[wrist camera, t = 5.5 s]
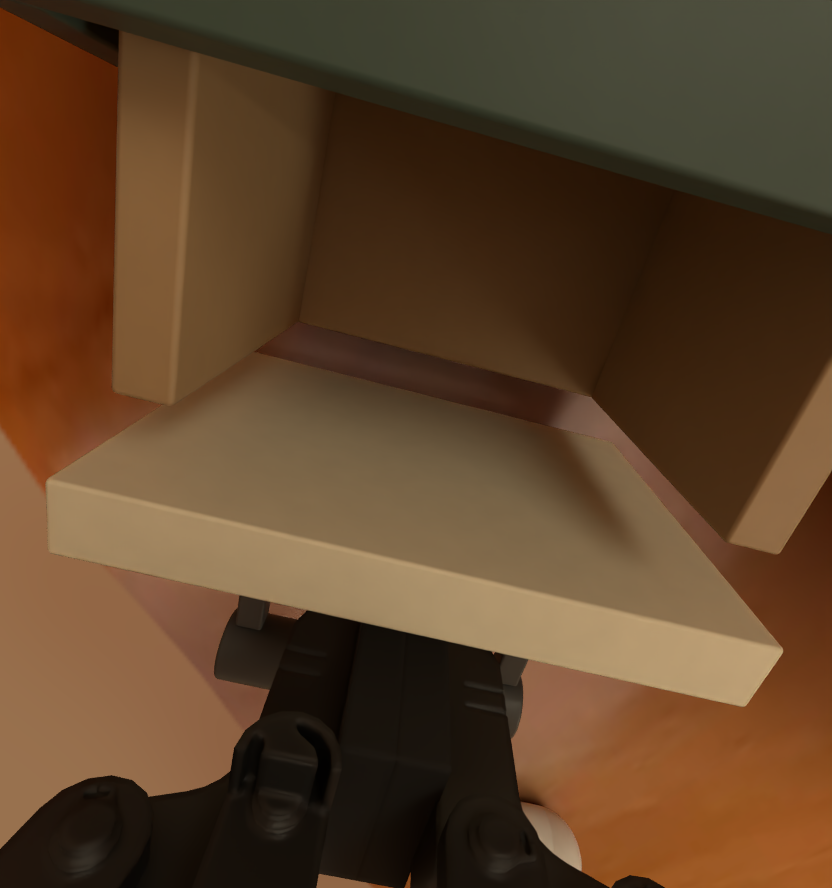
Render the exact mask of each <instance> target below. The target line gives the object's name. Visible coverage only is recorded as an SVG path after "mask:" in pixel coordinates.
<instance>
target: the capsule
mask: <svg viewBox="0 0 832 888" xmlns="http://www.w3.org/2000/svg"><path fill="white" fill-rule="evenodd" d="M521 805H522V809H523V812H524V813H525V815H526V816H527V818H528V819H529V821H530V822H531V824H532V825H533V827H534V828H535V830H536V831H537V834H538V837H539V839H540V840H541V841H542V843H543V844H544V845H545V846H546V847H547V848H548V849H549V850H550V851H551V852H552V853H553V854H555V855H556V856H558V857H559V858H560V859H562V860H563V861H565V862H566V863H568V864H569V865H571V866H573V867H574V868H576V869H578V870H580V871H582V863H581V856H580V851H579V847H578V843H577V841H576V839H575V837H574V835H573V833H572V831H571V829H570V828H569V826H568V825H567V824H566V822H565V821H564V820H563V819H562V818H561V817H560V816H559V815H557V814H556V813H555V812H553V811H551V810H550V809H548V808H546V807H543V806H540V805H535V804H530V803H525V802H521Z"/></svg>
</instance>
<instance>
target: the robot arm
mask: <svg viewBox="0 0 832 888" xmlns="http://www.w3.org/2000/svg"><path fill="white" fill-rule="evenodd" d="M503 691H504V689H503V682H502V675H501V669H500V665H499V663H498V662H497V660H496V658H495V656H494V655H493V653H492V651H488V650H483V649H479V648H474V647H470V646H465V645H461V644H456V643H452V642H447V641H443V640H438V639H434V638H429V637H425V636H420V635H416V634H412V633H407V632H403V631H398V630H394V629H389V628H385V627H380V626H376V625H371V624H367V623H362V622H358V621H353V620H349V619H344V618H340V617H335V616H331V615H326V614H322V613H317V612H313V611H308V610H307V611H306V612H305V613H304V614H303V615H302V616H301V617H300V618H299V619H298V620H297V621H296V622H295V623H294V625H293V627H292V630H291V633H290V636H289V639H288V641H287V644H286V647H285V650H284V652H283V655H282V658H281V661H280V663H279V667H278V669H277V672H276V674H275V677H274V680H273V683H272V685H271V688H270V691H269V694H268V697H267V699H266V702H265V705H264V708H263V710H262V713H261V716H260V719H259V720H258V721H257V722H255V723H254V724H253V725H251V726H250V727H249V728H247V729H246V730H245V732H244V733H243V735H242V736H241V738H240V740H239V741H238V743H237V744H236V746H235V747H234V753H233V759H232V765H231V771H230V772H229V773H227V774H226V775H225V776H224V777H222V778H221V779H219V780H217V781H215V782H213V783H211V784H209V785H208V786H205V787H202V788H198V789H194V790H190V791H186V792H179V793H172V794H165V795H158V796H152V797H148V795H147V793H146V792H145V791H144V790H143V789H142V788H141V787H140V786H138V785H137V784H136V783H135V782H134V781H132V780H129V779H125V778H121V777H117V776H112V775H111V776H105V777H97V778H90V779H87V780H84V781H81V782H79V783H77V784H75V785H73V786H70V787H68V788H66V789H64V790H62V791H61V792H59V793H58V794H57V795H56V796H54V797H53V798H52V799H51V800H49V801H48V802H47V803H46V804H44V805H43V806H42V807H41V808H39V810H38V811H37V812H36V813H35V814H34V815H33V816H32V817H31V818H30V819H29V820H28V821H27V822H26V823H25V824H24V825H23V826H22V827H21V828H20V829H19V830H18V831H17V832H16V833H15V834H14V835H13V836H12V837H11V839H10V840H9V841H8V842H7V843H6V844H5V845H4V846H3V847H2V848H1V849H0V888H316V886H317V880H318V875H319V874H324V875H329V876H335V877H340V878H345V879H351V880H356V881H361V882H366V883H372V884H377V885H382V886H388V887H393V888H404V887H405V885H406V882H407V880H408V877H409V875H410V872H411V883H410V888H609V887H607V886H606V885H604V884H602V883H600V882H599V881H597V880H595V879H594V878H592V877H590V876H588V875H587V874H585V873H583V872H581V871H580V870H578V869H576V868H574V867H573V866H571V865H569V864H568V863H566V862H565V861H563V860H562V859H560V858H559V857H558V856H556V855H555V854H553V853H552V852H551V851H550V850H549V849H548V848H547V847H546V846H545V845H544V844H543V843H542V841H541V840H540V839H539V837H538V834H537V831H536V830H535V828H534V827H533V825H532V824H531V822H530V821H529V819H528V818H527V816H526V815H525V813H524V812H523V809H522V805H521V802H520V798H519V792H518V785H517V779H516V772H515V765H514V758H513V751H512V744H511V737H510V730H509V724H508V717H507V716H506V711H507V710H506V703H505V696H504V695H503ZM612 888H665V887H663V886H661V885H660V884H658V883H656V882H654V881H652V880H651V879H649V878H644V877H638V876H631V875H629V876H627V877H625V878H623V879H620V880H618V881H616V882H615V883H614V885H613V886H612Z"/></svg>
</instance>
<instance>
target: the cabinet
mask: <svg viewBox="0 0 832 888" xmlns="http://www.w3.org/2000/svg"><path fill="white" fill-rule="evenodd" d="M0 7H1V8H3V9H5V10H6V11H8V12H10V13H12V14H14V15H16V16H18V17H20V18H22V19H24V20H26V21H28V22H30V23H32V24H34V25H36V26H38V27H40V28H42V29H44V30H46V31H48V32H50V33H52V34H54V35H56V36H58V37H60V38H61V39H63V40H65V41H67V42H69V43H71V44H73V45H75V46H77V47H79V48H81V49H83V50H85V51H87V52H89V53H91V54H93V55H95V56H97V57H99V58H101V59H103V60H105V61H107V62H109V63H111V64H113V65H114V66H116V67H118V53H119V30H120V31H124V32H127V33H131V34H134V35H138V36H141V37H145V38H148V39H152V40H155V41H159V42H162V43H165V44H169V45H172V46H176V47H179V48H183V49H186V50H190V51H193V52H197V53H200V54H204V55H207V56H211V57H214V58H218V59H221V60H225V61H228V62H232V63H235V64H239V65H242V66H246V67H249V68H253V69H256V70H260V71H263V72H267V73H270V74H274V75H277V76H281V77H284V78H288V79H291V80H294V81H298V82H301V83H305V84H308V85H312V86H315V87H319V88H322V89H326V90H329V91H333V92H336V93H340V94H343V95H347V96H350V97H354V98H357V99H361V100H364V101H368V102H371V103H375V104H378V105H382V106H385V107H389V108H392V109H396V110H399V111H403V112H406V113H410V114H413V115H417V116H420V117H424V118H427V119H430V120H434V121H437V122H441V123H444V124H448V125H451V126H455V127H458V128H462V129H465V130H469V131H472V132H476V133H479V134H483V135H486V136H490V137H493V138H497V139H500V140H504V141H507V142H511V143H514V144H518V145H521V146H525V147H528V148H532V149H535V150H539V151H542V152H546V153H549V154H553V155H556V156H559V157H563V158H566V159H570V160H573V161H577V162H580V163H584V164H587V165H591V166H594V167H598V168H601V169H605V170H608V171H612V172H615V173H619V174H622V175H626V176H629V177H633V178H636V179H640V180H643V181H647V182H650V183H654V184H657V185H661V186H664V187H668V188H671V189H675V190H678V191H682V192H685V193H689V194H692V195H695V196H699V197H702V198H706V199H709V200H713V201H716V202H720V203H723V204H727V205H730V206H734V207H737V208H741V209H744V210H748V211H751V212H755V213H758V214H762V215H765V216H769V217H772V218H776V219H779V220H783V221H786V222H790V223H793V224H797V225H800V226H804V227H807V228H811V229H814V230H818V231H821V232H824V233H828V234H831V235H832V0H0Z"/></svg>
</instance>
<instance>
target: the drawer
mask: <svg viewBox="0 0 832 888" xmlns="http://www.w3.org/2000/svg"><path fill="white" fill-rule="evenodd" d="M297 322H302V323H306V324H309V325H313V326H317V327H321V328H325V329H329V330H333V331H337V332H341V333H344V334H348V335H352V336H356V337H360V338H364V339H368V340H372V341H375V342H379V343H383V344H387V345H391V346H395V347H399V348H403V349H407V350H410V351H414V352H418V353H422V354H426V355H430V356H434V357H438V358H442V359H445V360H449V361H453V362H457V363H461V364H465V365H469V366H473V367H476V368H480V369H484V370H488V371H492V372H496V373H500V374H504V375H508V376H511V377H515V378H519V379H523V380H527V381H531V382H535V383H539V384H543V385H546V386H550V387H554V388H558V389H562V390H566V391H570V392H574V393H577V394H581V395H585V396H589V397H592V398H593V399H594V401H595V402H596V403H597V404H598V405H599V406H600V407H601V408H602V409H603V410H604V411H605V412H606V413H607V415H608V416H609V417H610V418H611V419H612V420H613V421H614V422H615V423H616V424H617V425H618V426H619V428H620V429H621V430H622V431H623V432H624V433H625V434H626V435H627V436H628V437H629V438H630V439H631V440H632V442H633V443H634V444H635V445H636V446H637V447H638V448H639V449H640V450H641V451H642V452H643V453H644V455H645V456H646V457H647V458H648V459H649V460H650V461H651V462H652V463H653V464H654V465H655V466H656V467H657V469H658V470H659V471H660V472H661V473H662V474H663V475H664V476H665V477H666V478H667V479H668V480H669V482H670V483H671V484H672V485H673V486H674V487H675V488H676V489H677V490H678V491H679V492H680V493H681V494H682V496H683V497H684V498H685V499H686V500H687V501H688V502H689V503H690V504H691V505H692V506H693V507H694V509H695V510H696V511H697V512H698V513H699V514H700V515H701V516H702V517H703V518H704V519H705V520H706V522H707V523H708V524H709V525H710V526H711V527H712V528H713V529H714V530H715V531H716V532H717V533H718V534H719V536H720V537H721V538H722V539H723V540H724V541H725V542H727V543H730V544H735V545H739V546H743V547H747V548H751V549H755V550H759V551H763V552H767V553H772V554H779V553H780V552H781V550H782V549H783V547H784V546H785V544H786V543H787V541H788V539H789V538H790V536H791V535H792V533H793V531H794V530H795V528H796V527H797V525H798V524H799V522H800V520H801V519H802V517H803V516H804V514H805V512H806V511H807V509H808V508H809V506H810V505H811V503H812V501H813V500H814V498H815V497H816V495H817V493H818V492H819V490H820V489H821V487H822V486H823V484H824V482H825V481H826V479H827V478H828V476H829V474H830V473H831V471H832V235H831V234H828V233H824V232H821V231H818V230H814V229H811V228H807V227H804V226H800V225H797V224H793V223H790V222H786V221H783V220H779V219H776V218H772V217H769V216H765V215H762V214H758V213H755V212H751V211H748V210H744V209H741V208H737V207H734V206H730V205H727V204H723V203H720V202H716V201H713V200H709V199H706V198H702V197H699V196H695V195H692V194H689V193H685V192H682V191H678V190H675V189H671V188H668V187H664V186H661V185H657V184H654V183H650V182H647V181H643V180H640V179H636V178H633V177H629V176H626V175H622V174H619V173H615V172H612V171H608V170H605V169H601V168H598V167H594V166H591V165H587V164H584V163H580V162H577V161H573V160H570V159H566V158H563V157H559V156H556V155H553V154H549V153H546V152H542V151H539V150H535V149H532V148H528V147H525V146H521V145H518V144H514V143H511V142H507V141H504V140H500V139H497V138H493V137H490V136H486V135H483V134H479V133H476V132H472V131H469V130H465V129H462V128H458V127H455V126H451V125H448V124H444V123H441V122H437V121H434V120H430V119H427V118H424V117H420V116H417V115H413V114H410V113H406V112H403V111H399V110H396V109H392V108H389V107H385V106H382V105H378V104H375V103H371V102H368V101H364V100H361V99H357V98H354V97H350V96H347V95H343V94H340V93H336V92H333V91H329V90H326V89H322V88H319V87H315V86H312V85H308V84H305V83H301V82H298V81H294V80H291V79H288V78H284V77H281V76H277V75H274V74H270V73H267V72H263V71H260V70H256V69H253V68H249V67H246V66H242V65H239V64H235V63H232V62H228V61H225V60H221V59H218V58H214V57H211V56H207V55H204V54H200V53H197V52H193V51H190V50H186V49H183V48H179V47H176V46H172V45H169V44H165V43H162V42H159V41H155V40H152V39H148V38H145V37H141V36H138V35H134V34H131V33H127V32H124V31H120V30H119V53H118V102H117V151H116V199H115V248H114V297H113V346H112V390H113V392H115V393H117V394H121V395H125V396H129V397H133V398H138V399H142V400H146V401H150V402H154V403H158V404H162V405H161V406H160V407H158V408H157V409H155V410H154V411H152V412H151V413H149V414H147V415H146V416H144V417H143V418H141V419H140V420H138V421H137V422H135V423H133V424H132V425H130V426H129V427H127V428H126V429H124V430H123V431H121V432H119V433H118V434H116V435H115V436H113V437H112V438H110V439H109V440H107V441H105V442H104V443H102V444H101V445H99V446H98V447H96V448H95V449H93V450H91V451H90V452H88V453H87V454H85V455H84V456H82V457H81V458H79V459H77V460H76V461H74V462H73V463H71V464H70V465H68V466H67V467H65V468H63V469H62V470H60V471H59V472H57V473H56V474H54V475H53V476H51V477H49V478H48V479H47V481H46V508H47V537H48V551H49V552H50V553H52V554H56V555H61V556H65V557H70V558H74V559H79V560H83V561H88V562H92V563H97V564H101V565H106V566H110V567H115V568H119V569H124V570H128V571H133V572H137V573H142V574H146V575H151V576H155V577H160V578H164V579H169V580H173V581H178V582H182V583H187V584H191V585H196V586H200V587H205V588H209V589H214V590H218V591H223V592H227V593H232V594H236V595H240V596H239V603H238V608H237V609H236V610H235V611H234V612H233V614H232V615H231V617H230V619H229V621H228V623H227V625H226V628H225V630H224V633H223V635H222V638H221V641H220V644H219V648H218V651H217V655H216V660H215V666H214V675H215V677H216V678H217V679H221V680H225V681H230V682H235V683H240V684H244V685H249V686H254V687H259V688H263V689H268V690H270V688H271V685H272V683H273V680H274V677H275V674H276V672H277V669H278V667H279V663H280V661H281V658H282V655H283V652H284V650H285V647H286V644H287V641H288V639H289V636H290V633H291V630H292V627H293V625H294V623H295V622H296V621H297V619H292V618H288V617H283V616H279V615H274V614H270V613H268V612H269V606H270V602H272V603H277V604H281V605H286V606H290V607H295V608H299V609H304V610H308V611H313V612H317V613H322V614H326V615H331V616H335V617H340V618H344V619H349V620H353V621H358V622H362V623H367V624H371V625H376V626H380V627H385V628H389V629H394V630H398V631H403V632H407V633H412V634H416V635H420V636H425V637H429V638H434V639H438V640H443V641H447V642H452V643H456V644H461V645H465V646H470V647H474V648H479V649H483V650H488V651H492V652H495V653H494V656H495V658H496V660H497V662H498V663H499V665H500V669H501V675H502V682H503V689H504V691H503V695H504V696H505V703H506V710H507V711H506V716H507V717H508V724H509V730H510V737H511V738H512V737H513V736H514V735H515V733H516V731H517V728H518V726H519V722H520V718H521V713H522V706H523V685H522V679H521V675H522V673H523V670H524V668H525V666H526V664H527V662H528V660H533V661H537V662H542V663H546V664H551V665H555V666H560V667H564V668H569V669H573V670H578V671H582V672H587V673H591V674H596V675H600V676H605V677H609V678H614V679H618V680H623V681H627V682H632V683H636V684H641V685H645V686H650V687H654V688H659V689H663V690H668V691H672V692H677V693H681V694H686V695H690V696H695V697H699V698H704V699H708V700H713V701H717V702H722V703H726V704H731V705H735V706H740V707H744V706H746V705H747V704H748V702H749V701H750V699H751V698H752V696H753V695H754V694H755V692H756V691H757V689H758V688H759V686H760V685H761V684H762V682H763V681H764V679H765V678H766V676H767V675H768V674H769V672H770V671H771V669H772V668H773V666H774V665H775V664H776V662H777V661H778V659H779V658H780V656H781V655H782V653H783V648H782V647H781V646H780V645H779V643H778V642H777V641H776V640H775V639H774V637H773V636H772V635H771V634H770V633H769V631H768V630H767V629H766V628H765V626H764V625H763V624H762V623H761V622H760V620H759V619H758V618H757V617H756V616H755V614H754V613H753V612H752V611H751V610H750V608H749V607H748V606H747V605H746V604H745V602H744V601H743V600H742V599H741V597H740V596H739V595H738V594H737V593H736V591H735V590H734V589H733V588H732V587H731V585H730V584H729V583H728V582H727V581H726V579H725V578H724V577H723V576H722V574H721V573H720V572H719V571H718V570H717V568H716V567H715V566H714V565H713V564H712V562H711V561H710V560H709V559H708V558H707V556H706V555H705V554H704V553H703V552H702V550H701V549H700V548H699V547H698V545H697V544H696V543H695V542H694V541H693V539H692V538H691V537H690V536H689V535H688V533H687V532H686V531H685V530H684V529H683V527H682V526H681V525H680V524H679V523H678V521H677V520H676V519H675V518H674V516H673V515H672V514H671V513H670V512H669V510H668V509H667V508H666V507H665V506H664V504H663V503H662V502H661V501H660V500H659V498H658V497H657V496H656V495H655V493H654V492H653V491H652V490H651V489H650V487H649V486H648V485H647V484H646V483H645V481H644V480H643V479H642V478H641V477H640V475H639V474H638V473H637V472H636V471H635V469H634V468H633V467H632V466H631V464H630V463H629V462H628V461H627V460H626V458H625V457H624V456H623V455H622V454H621V452H620V451H619V450H618V449H617V448H616V446H615V445H614V444H613V443H612V442H609V441H605V440H601V439H598V438H594V437H590V436H586V435H582V434H578V433H574V432H570V431H566V430H562V429H558V428H554V427H550V426H546V425H542V424H538V423H534V422H530V421H526V420H522V419H518V418H514V417H510V416H506V415H502V414H498V413H495V412H491V411H487V410H483V409H479V408H475V407H471V406H467V405H463V404H459V403H455V402H451V401H447V400H443V399H439V398H435V397H431V396H427V395H423V394H419V393H415V392H411V391H407V390H403V389H399V388H395V387H391V386H388V385H384V384H380V383H376V382H372V381H368V380H364V379H360V378H356V377H352V376H348V375H344V374H340V373H336V372H332V371H328V370H324V369H320V368H316V367H312V366H308V365H304V364H300V363H296V362H292V361H288V360H285V359H281V358H277V357H273V356H269V355H265V354H261V353H257V352H254V351H255V350H257V349H258V348H260V347H261V346H263V345H264V344H266V343H267V342H269V341H270V340H272V339H273V338H275V337H276V336H278V335H279V334H281V333H282V332H284V331H285V330H287V329H288V328H290V327H291V326H292V325H294V324H295V323H297Z"/></svg>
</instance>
